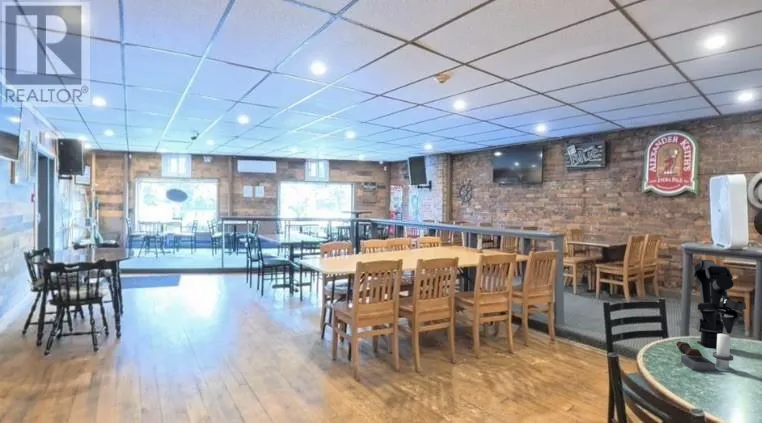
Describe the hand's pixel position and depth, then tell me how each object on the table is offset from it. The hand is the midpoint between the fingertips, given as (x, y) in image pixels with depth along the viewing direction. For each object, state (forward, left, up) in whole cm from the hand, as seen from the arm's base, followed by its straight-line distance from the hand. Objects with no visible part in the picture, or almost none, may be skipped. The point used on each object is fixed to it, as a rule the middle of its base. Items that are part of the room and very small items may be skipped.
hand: (721, 331), depth 174 cm
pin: (+9, -5, -12) cm, 15 cm away
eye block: (+9, -14, -12) cm, 20 cm away
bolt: (-4, -10, -13) cm, 17 cm away
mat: (+9, -5, -12) cm, 16 cm away
